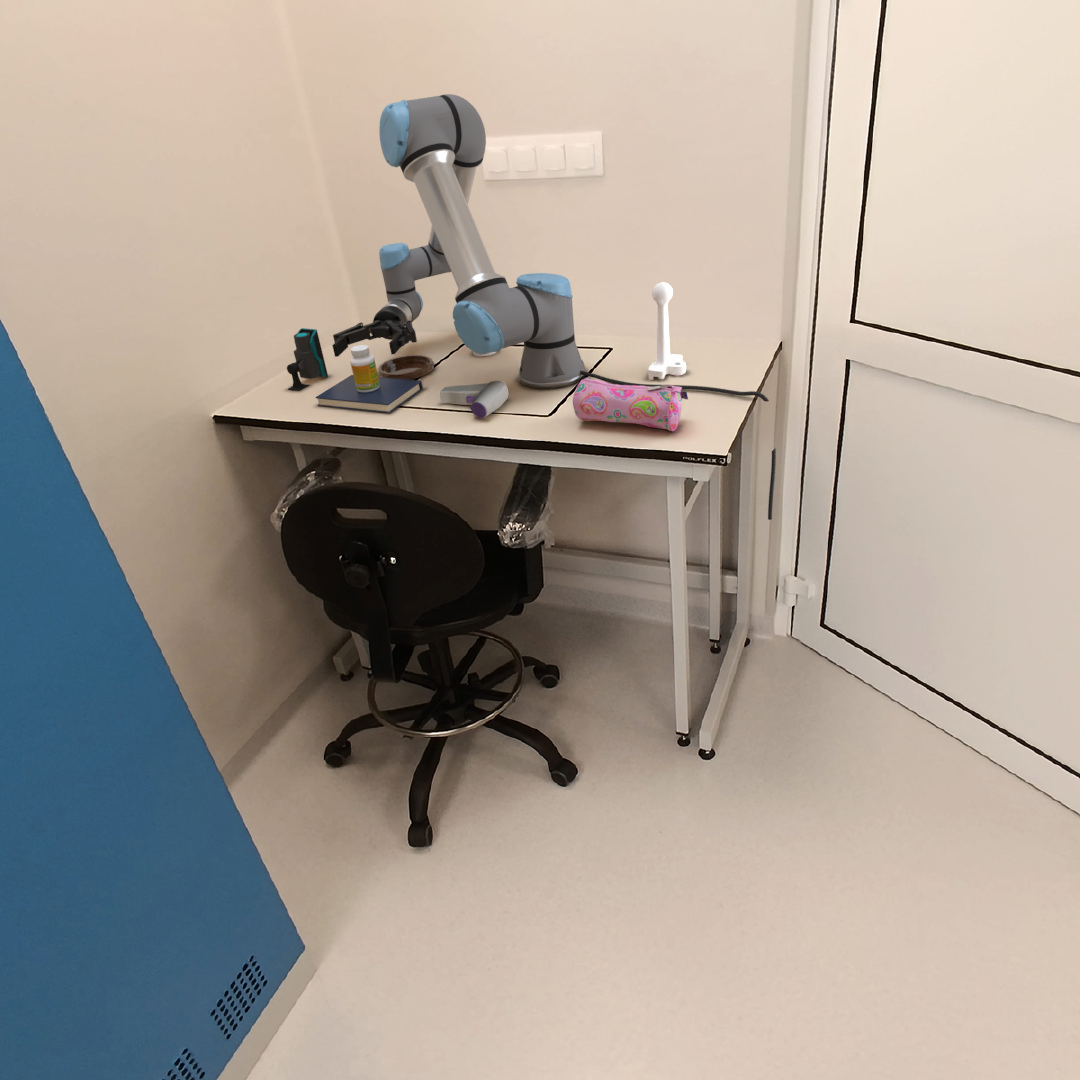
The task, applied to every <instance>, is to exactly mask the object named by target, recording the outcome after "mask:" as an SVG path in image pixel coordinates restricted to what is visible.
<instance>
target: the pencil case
mask: <svg viewBox="0 0 1080 1080" xmlns="http://www.w3.org/2000/svg"><path fill="white" fill-rule="evenodd" d="M660 385H661V386H655V387H648V386H635V385H619V384H614V383H610V382H606V381H603V380H599V379H593V378H592V379H591V377H584V378H583V379H581V380H580V381H579V383H578V384H577V385H576V388H575V390H574V393H573V396H572V407H573V410H574V415H575V416H576V417H577V419H579V420H581V421H584V422H597V421H598V422H599V421H600V422H608V423H623V424H636V425H641V426H645V427H648V428H655V429H662V430H668V431H669V432H675V431H676V430H677V428H678V425H679V422H680V420H681V419H680V418H681V414H682V409H683V400H689V397H688V392H687V391H683V389H682V387H678V386H677V387H676V386H673V385H674V384H660ZM666 385H668V386H666Z"/></svg>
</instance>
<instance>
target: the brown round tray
mask: <svg viewBox="0 0 1080 1080" xmlns="http://www.w3.org/2000/svg"><path fill="white" fill-rule="evenodd" d="M434 368H435V365H434V360H433V358H432V357H430V356H428V355H423V354H410V355H409V354H408V355H401V356H397V357H393V358H390V359H388V360H386V361H384V362H382V363H381V364H379V366H378V369H377V370H378V375H379V377H383V378H396V379H408V380H416V379H418V378H422V377H423V376H426V375H428V374H430V373H431V372H433V370H434Z"/></svg>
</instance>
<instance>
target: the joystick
mask: <svg viewBox="0 0 1080 1080" xmlns="http://www.w3.org/2000/svg"><path fill="white" fill-rule="evenodd" d="M651 291H652V292H651V296H652V299H653V300H654V301H655V302H656V305H657V323H656V324H657V325H656V326H657V327H656V329H657V330H656V331H657V332H656V359H655V360H654V361H653V362H652V363H650V365H649V366H648V370H647V372H648V374H647V375H648V380H649V381H654V379H655V378H658V380H664V379H665V377H666V375H671V376H675V377H679V376H683V375H685V374H686V372H687V362H686V361H685V360H683V359H684V357H683V354H677V353H671V343H670V325H669V323H670V322H669V321H670V320H669V308H668V307H669V302H670V301H671V300H672V298H673V297H674V289H673V287H672V286H671V284H670V283H668V282H665V281H661V282H657V283H656V284H655V285H654V286H653V288H652V290H651Z"/></svg>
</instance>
